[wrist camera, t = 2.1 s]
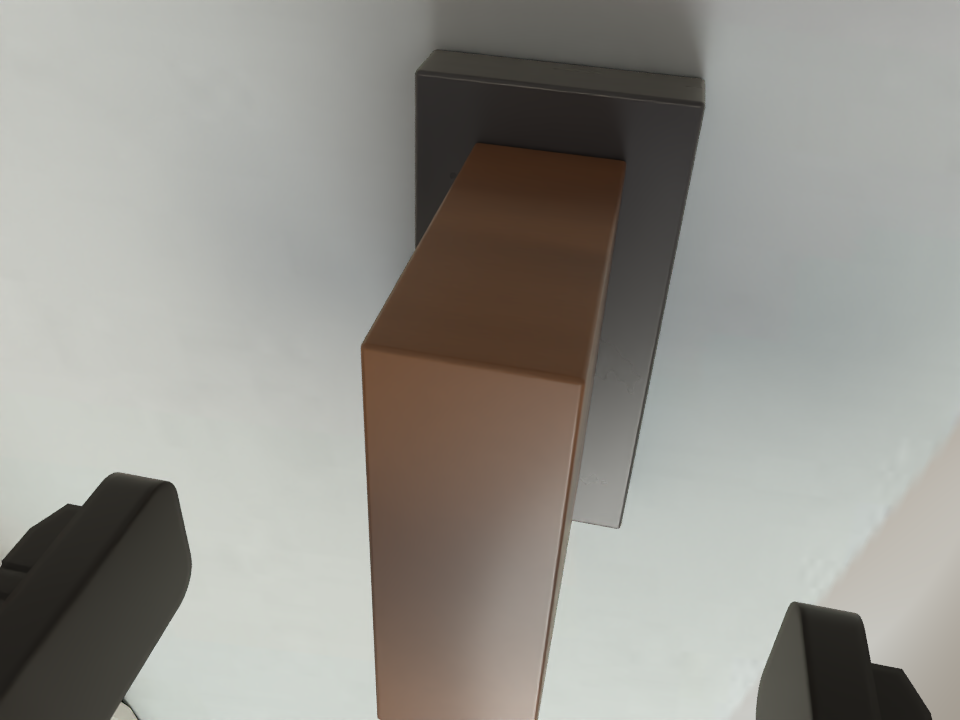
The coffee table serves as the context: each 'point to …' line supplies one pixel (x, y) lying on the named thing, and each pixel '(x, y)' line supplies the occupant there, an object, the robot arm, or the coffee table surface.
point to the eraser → (513, 362)
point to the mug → (123, 713)
